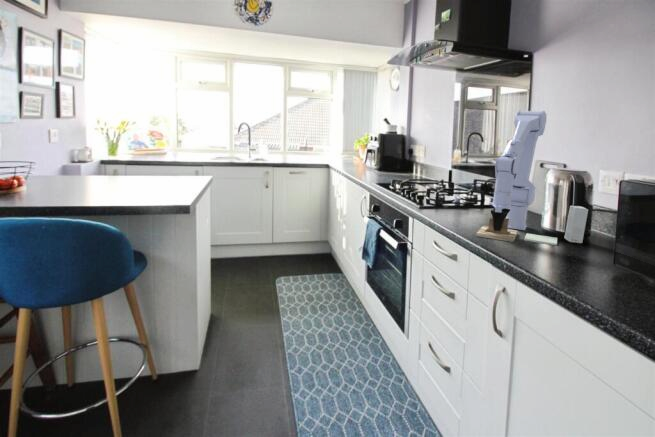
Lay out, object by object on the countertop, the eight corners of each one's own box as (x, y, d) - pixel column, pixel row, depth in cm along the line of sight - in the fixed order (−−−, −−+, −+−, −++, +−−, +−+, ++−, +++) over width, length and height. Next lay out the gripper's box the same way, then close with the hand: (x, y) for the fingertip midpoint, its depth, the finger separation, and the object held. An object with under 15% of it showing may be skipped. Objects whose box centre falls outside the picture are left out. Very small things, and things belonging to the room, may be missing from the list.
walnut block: (489, 232, 160) (491, 216, 159) (506, 235, 158) (509, 218, 156) (487, 234, 157) (489, 218, 156) (505, 237, 154) (507, 220, 153)
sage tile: (526, 234, 160) (526, 233, 160) (557, 239, 156) (557, 237, 156) (524, 240, 152) (524, 238, 151) (556, 245, 147) (556, 243, 147)
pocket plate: (482, 228, 166) (483, 225, 166) (517, 234, 161) (517, 230, 160) (476, 236, 154) (476, 232, 154) (513, 241, 149) (513, 238, 148)
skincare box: (582, 243, 152) (588, 209, 150) (569, 242, 153) (575, 208, 150) (576, 239, 158) (582, 206, 155) (563, 238, 159) (569, 205, 156)
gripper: (494, 188, 162) (489, 224, 165) (488, 192, 150) (482, 231, 152) (514, 190, 159) (509, 227, 162) (510, 194, 146) (504, 234, 149)
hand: (497, 229), depth 157 cm, fingers closed on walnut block, 4 cm apart
